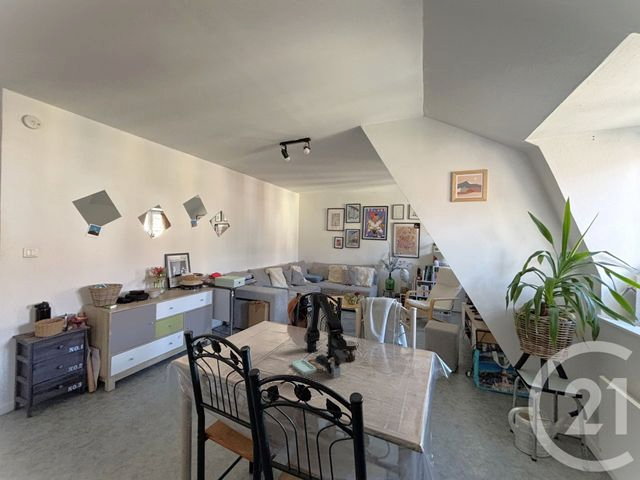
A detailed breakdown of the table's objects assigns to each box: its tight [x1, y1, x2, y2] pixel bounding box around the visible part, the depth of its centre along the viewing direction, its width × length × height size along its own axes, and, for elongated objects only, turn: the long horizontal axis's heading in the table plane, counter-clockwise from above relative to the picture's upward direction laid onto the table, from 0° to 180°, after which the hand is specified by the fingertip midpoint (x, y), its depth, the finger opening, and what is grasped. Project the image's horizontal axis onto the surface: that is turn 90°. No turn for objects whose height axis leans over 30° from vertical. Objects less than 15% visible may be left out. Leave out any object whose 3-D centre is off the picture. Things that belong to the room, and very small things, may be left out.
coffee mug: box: [344, 339, 360, 363], centre depth 165 cm, size 12×9×10 cm
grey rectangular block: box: [325, 361, 341, 380], centre depth 147 cm, size 8×4×5 cm, turn 27°
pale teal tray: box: [291, 358, 318, 377], centre depth 153 cm, size 14×8×2 cm, turn 34°
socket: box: [307, 357, 324, 373], centre depth 157 cm, size 12×9×2 cm
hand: (333, 372), depth 147 cm, fingers closed on grey rectangular block, 4 cm apart
